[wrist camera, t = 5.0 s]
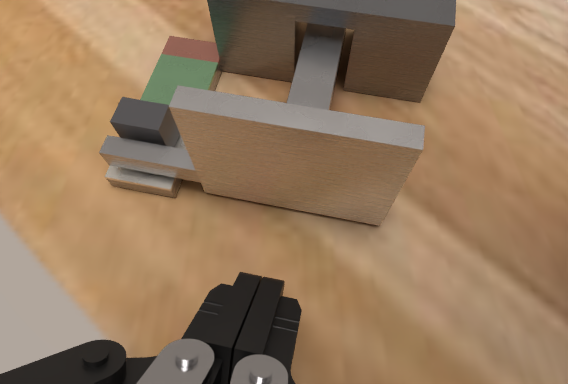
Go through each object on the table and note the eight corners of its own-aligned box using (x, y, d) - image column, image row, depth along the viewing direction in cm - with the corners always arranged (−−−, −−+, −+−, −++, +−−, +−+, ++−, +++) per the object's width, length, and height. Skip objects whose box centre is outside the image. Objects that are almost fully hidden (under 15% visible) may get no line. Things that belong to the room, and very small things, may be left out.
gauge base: (424, 40, 26) (457, -43, 21) (408, 243, 20) (448, 194, 15) (192, 7, 27) (171, -78, 22) (112, 185, 21) (59, 124, 16)
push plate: (398, 63, 24) (437, -50, 18) (380, 225, 20) (422, 150, 14) (182, 30, 26) (148, -86, 20) (117, 175, 21) (45, 85, 15)
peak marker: (180, 132, 21) (169, 104, 19) (171, 156, 21) (158, 130, 19) (138, 124, 22) (122, 96, 20) (127, 148, 21) (109, 121, 19)
